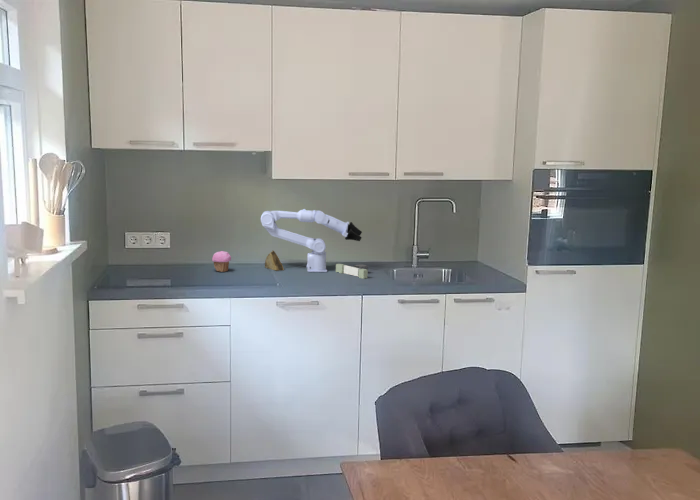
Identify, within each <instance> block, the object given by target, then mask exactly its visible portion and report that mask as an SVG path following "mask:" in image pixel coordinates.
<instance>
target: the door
mask: <svg viewBox="0 0 700 500" xmlns="http://www.w3.org/2000/svg"><path fill="white" fill-rule="evenodd" d="M359 269H361V268H355V267H354V266H351V265H346V264H344V273H343V274H345V275H348V276H349V275H351V276H355V277H358V275H359Z"/></svg>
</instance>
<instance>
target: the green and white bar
mask: <svg viewBox="0 0 700 500" xmlns="http://www.w3.org/2000/svg"><path fill="white" fill-rule="evenodd" d="M344 265H345V264H343V263H336V264H335V273H337V272H339V274H345V273H344ZM368 273H369V269H368V270H366V269H359V275H358V276H357V277H359V279H368Z"/></svg>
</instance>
